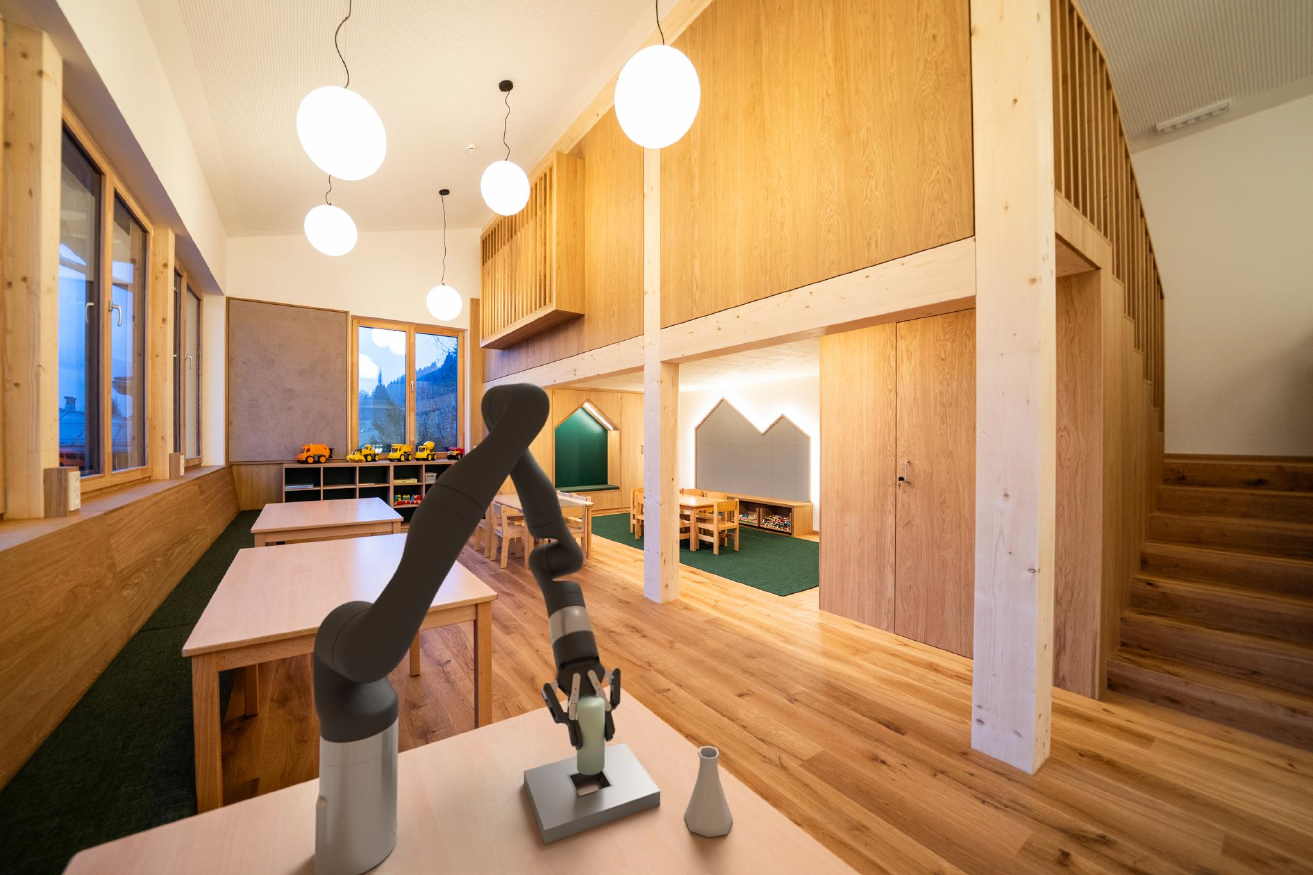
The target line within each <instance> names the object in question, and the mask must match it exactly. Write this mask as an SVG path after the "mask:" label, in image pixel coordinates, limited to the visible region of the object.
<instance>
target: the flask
mask: <svg viewBox="0 0 1313 875" xmlns="http://www.w3.org/2000/svg"><path fill="white" fill-rule="evenodd" d="M697 756H698V757H699V767H698V768H699V769H698V773H697V778H696V781H695V783H694V787H693V790H692V793H691V796H690V799H689V801H688V805H687V807H686V809H685V812H684V815H683V817H684V819H685V823H686V825H687V827H688V830H689V831H690V832H692V833H695V834H698V835H701V836H704V837H707V838H711V837H718V836H724V835H728V834H729V831H730V829H731V827H732V824H733V821H734V819H733V817H732V816H733V815H732V813H731V810H730V807H729V805H728V801H727V797H726V795H725V793H724V792H725V791H724V788H723V786H722V783H721V779H720V774H719V773H720V772H719V767H718V761H719V760H718V759H719V758H720V752H719V750H718V748H717V747H715V746H710V745H705V746H700V747H699V749H698V751H697Z"/></svg>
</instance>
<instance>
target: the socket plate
mask: <svg viewBox="0 0 1313 875" xmlns="http://www.w3.org/2000/svg"><path fill="white" fill-rule="evenodd" d="M597 780H600V782H601V783H602V786H604V787H603V788H600V789H597V790H595V791H594V790H593V791H590V792H588V793H584V794H582V795H580V794H579V792H578V790H577V788H576V787H577V786H580V785H585V784H587V783H590V782H594V781H597ZM523 785H524V788H525V791H526V794H527V798H528V800H529V803H530V806H531V809H532V813H533V815H534V818H535V821H536V824H537V827H538V830H539V832H540V836H541V839H542V842H543V845H545V846H546V845H548V844H550V843H554V842H556V841H560V840H562V839H565V838H568V837H570V836H573V835H576V834H579V833H581V832H585V831H587V830H590V829H594V828H596V827H598V826H602V825H604V824H607V823H610V822H613V821H616V820H618V819H623V818H624V817H627V816H630V815H633V814H636V813H638V812H641V811H644V810H646V809H649V808H650V809H651V808H653V807H656V806H657V805H658V806H659V805H661V790H660V788H659V786H657V784H656V783H655V782H654V780H653V778H652V777H651V776H650V775H649V773H648V772H647V771H646V769H645V768H644V767H643V764H642V763H641V762H640V761H639V759H638V758H637V757H636V755H635V754H634V753H633V751H632V749H631V748H630V747H629V745H628V744H627V743H626V742H621V743H618V744H614V745H612V746H607V747H605V766H604V769H603V770H602V771H601V772H599V773H597V774H594V775H584V774H581V773H580V772H579V771H578V770H577V755H576V756H572V757H568V758H565V759H561V760H558V761H554V762H551V763H548V764H547V763H546V764H544V765H540V766H535V767H533V768H530V769H526V770H523Z"/></svg>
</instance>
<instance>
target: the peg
mask: <svg viewBox="0 0 1313 875" xmlns="http://www.w3.org/2000/svg"><path fill="white" fill-rule="evenodd" d="M576 720H578V722H579V726H580V731H581V736H582V741H583V747H582V748H581V749H580V750H576V756H577V770H578V771H579V772H580V773H581V774H584V775H594V774H597V773H599V772H601V771H602V770H603V769H604V766H605V748H606V747H605V746H606V744H605V743H606V740H605V701H604V699H602V698H601V697H597V696H588V697H584V698H582V699H580V700H579V701H578V702H577V716H576Z"/></svg>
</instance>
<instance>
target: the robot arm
mask: <svg viewBox="0 0 1313 875" xmlns="http://www.w3.org/2000/svg"><path fill="white" fill-rule="evenodd" d="M480 404H481V405H480V412H481V416H482V419H483V422H484V425H485V427H486V430H487V431H488V434H487V435H486V436H485V437H484V439H482V440H481V442H479V443H478V444H477V445H476V446H475V447H474V448H471V450H470V451H468V452H467V453H466V454H464V455H463V456H462V457H460V458H459V459H458V460H457V461H455V462H454V463H453V464H452V465H450V466H449V467H448V468H447V469H446V470H445V471H443V472H442V473H441V474H440V476H438V477H437V478H436V480H435V481H434V482H433V483H432V485H431V487H430V488H429V489H428V491H427V492H426V494H424V497H423V498H422V500H421V501H420V502H419V504H418V506H417V507H416V509H415V511H414V512H413V513H412V516H411V518H410V519H411V520H410V522H409V525H408V526H409V527H408V529H407V533H406V539H405V543H404V548H403V551H402V555H401V558H400V561H399V563H398V566H397V567H396V570H395V571H394V573H393V575H392V576H391V578H390V579H389V581H388V583H387V584H386V585H385V587H384V589H383V590H382V591H381V593H380V595H378V597H377V598H376V600H375V601H374V602H370V601H366V600H352V601H348V602H345V603H342V604H340V605H338V606H337V607H335V608H333V610H331V611H330V612H329V613H328V614H327V615H326V616H325V618H323V620H322V621H321V623H320V625H319V627H318V629H317V632H316V634H315V638H314V643H313V654H312V656H313V657H312V660H313V661H312V664H313V666H312V668H313V669H312V670H313V671H312V672H313V673H312V674H313V700H314V708H315V711H316V714H317V718H318V720H319V772H318V773H319V776H318V778H319V781H318V795H317V799H316V803H315V818H314V819H315V821H314V822H315V824H314V825H315V828H314V829H315V830H314V832H315V833H314V875H362V874H363V873H366V872H368V871H370V870H371V869H373V868H374V867H376V866H378V865H379V864H380V863H382V862H383V861H384V860H385V859H387V857H388V856H389V855H390V854H391V853H392V851H393V850H394V848H395V847H396V846H395V845H396V844H397V837H398V835H397V833H398V781H399V780H398V776H399V774H398V771H399V768H398V767H399V766H398V764H399V711H400V710H399V709H400V708H399V704H400V701H399V696H398V694H397V691H396V690H395V689H394V687H393V685H392V684H391V681H390V679H389V676H388V675H389V674H391V673H392V672H393V671H394V670H395V669H396V668H397V667H398V666H399V665H400V663H401V662H402V661H403V659H404V658H405V657H406V655H407V653H408V651H409V650H410V648H411V646H412V644H413V643H414V641H415V638H416V637H417V635H418V633H419V631H420V628H421V626H422V624H423V622H424V620H425V618H426V616H427V613H428V612H429V610H430V607H431V606H432V603H433V602H434V600H435V597H436V596H437V594H438V592H439V590H440V589H441V587H442V586H443V583H444V581H445V580H446V578H447V576H448V574H449V573H450V572H451V569H452V568H453V566H454V564H455V563H456V561H457V559H458V558H459V556H460V554H461V552H462V551H463V549H464V547H466V545H467V543H468V541H469V540H470V539H471V536H473V535H474V532H475V531H476V529H477V527H478V526H479V524H480V522H481V521H482V519H483V518H484V516H485V514H486V512H487V511H488V509H489V507H490V505H491V503H492V502H493V500H494V499H495V497H496V495H497V494H498V492H499V490H500V489H501V488H502V486H503V484H504V483H505V481H506V480H507V478H508V477H509V476H510V479H511V481H512V484H513V485H514V489H515V491H516V494H517V496H518V500H519V502H520V506H521V511H522V514H523V517H524V520H525V523H526V526H527V529H528V533H529V535H530V537H532V538H534V539H538V540H547V539H553V540H556V541H554V542H550V543H546V544H542V545H539V546H537V547H534V548H533V549H532V550H531V551H530V553H529V556H528V563H527V564H528V567H529V569H530V572H531V574H532V575H533V577H534V579H535V581H536V583H537V585H538V586H539V589H540V590H541V593H542V595H543V596H542V597H543V599H544V602H545V608H546V612H547V618H548V625H549V628H548V629H549V630H548V631H549V638H550V640H549V641H550V645H551V648H552V653H553V659H554V665H555V669H556V670H555V671H556V678H555V680H554V681H551V682H545V683H544V684H543V686H542V688H541V691H540V694H541V697H542V699H543V701H544V703H545V705H546V707H547V709H548V712H549V713H550V715H551V718H552V719H553V722H554V723H555V724H557V725H559V724H563V725H565V726H566V727H567V729H568V730H567V731H568V735H569V740H570V745H571V746H572V748H575V750H576V751H577V750H580V749H581V748H582V747H583V741H582V736H581V731H580V726H579V722H578V720H577V702H578V701H579V700H580V699H582V698H584V697H588V696H597V697H601V698H602V699H604V701H605V743H609V742H612V740H613V738H614V736H615V733H616V727H615V723H614V719H613V714H612V712H613V711H615V710H616V709H617V707H618V706H619V705H620V703H621V691H622V690H621V682H622V680H621V678H622V674H621V673H622V672H621V669H620V668H619V667H615V668H614V670H612V669H606V668H605V667H604V665H602V662H601V660H600V655H599V650H598V646H597V642H596V639H595V634H594V630H593V625H592V621H591V619H590V616H589V613H588V611H587V606H586V603H585V602H586V601H585V598H584V594H583V590H582V587H581V585H580V584H579V583H578V581H574V580H556V579H558V578H559V579H560V578H562V577H565V576H569V575H572V574H575V573H577V572H579V571H580V570H581V569H582V568H583V567H582V566H583V564H584V554H583V551H582V548H581V547H580V545H579V543H578V542H577V540H576V539H575V537H574V536H573V534H572V533H571V532H570V529H569V527H568V525H567V524H566V521H565V519H564V516H563V512H562V507H561V504H560V500H559V496H558V493H557V491H556V489H555V486H554V485H553V483H552V481H551V479H550V478H549V476H548V474H546V473H545V471H544V470H543V469H542V467H541V465H539V463H538V461H537V460H536V458H535V457H534V456H533V453H532V452H531V450H530V446H531V444H532V443H533V442H534V441H535V439H536V438H537V437H538V435H539V434H540V433H541V432H542V430H543V428H544V427H545V425H546V423H547V421H548V419H549V415H550V409H551V408H550V407H551V403H550V398H549V395H548V393H547V391H546V390H545V389H544V388H543V387H542V386H540V385H538V384H535V383H528V382H519V383H509V384H508V383H507V384H499V385H494V386H492V387H490V388H489V389H487V391H486V392H485V393H484V394H483V396H482V398H481V403H480ZM604 678H605V679H606V683H607V684H608V685H609V686H610V687H609V699H608V698H607V695H606V692H605V690H604V688H603V686H602V683H603V680H604ZM557 688H558V689H559V690H560V691H561V692H562V693H563V694H564V695H565V696H566V697H567V700H566V711H564V709H563V707H562V705H561V703H560V701H559V699H558V696H557V694H558V689H557Z"/></svg>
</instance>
